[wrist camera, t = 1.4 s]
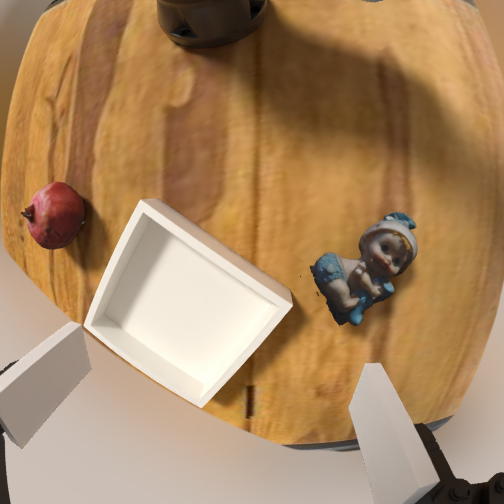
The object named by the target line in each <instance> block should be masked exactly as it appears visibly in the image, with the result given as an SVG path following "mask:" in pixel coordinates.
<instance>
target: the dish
mask: <svg viewBox="0 0 504 504" xmlns="http://www.w3.org/2000/svg"><path fill="white" fill-rule="evenodd" d="M292 306H293V303H292V298H291V293H290V289H288V288H287V287H285V286H284V285H282V284H281V283H279V282H278V281H276V280H275V279H273V278H272V277H271V276H269V275H268V274H266V273H265V272H263V271H262V270H260V269H259V268H257V267H256V266H255V265H253V264H252V263H250V262H249V261H247V260H246V259H244V258H243V257H242V256H240V255H239V254H237V253H236V252H234V251H233V250H231V249H230V248H229V247H227V246H226V245H224V244H223V243H221V242H220V241H218V240H217V239H216V238H214V237H213V236H211V235H210V234H208V233H207V232H206V231H204V230H203V229H201V228H200V227H198V226H197V225H196V224H194V223H193V222H191V221H190V220H188V219H187V218H186V217H184V216H183V215H181V214H180V213H178V212H177V211H176V210H174V209H173V208H171V207H170V206H168V205H167V204H166V203H164V202H163V201H161V200H160V199H159V198H155V199H141V200H140V202H139V203H138V205H137V207H136V209H135V211H134V213H133V215H132V216H131V218H130V220H129V222H128V224H127V226H126V228H125V230H124V232H123V234H122V236H121V238H120V240H119V242H118V244H117V246H116V248H115V250H114V253H113V255H112V257H111V259H110V261H109V263H108V266H107V268H106V270H105V273H104V275H103V277H102V279H101V282H100V284H99V287H98V289H97V292H96V294H95V297H94V299H93V302H92V304H91V307H90V309H89V312H88V315H87V318H86V320H85V323H84V327H85V328H87V329H88V330H89V331H90V332H91V333H92V334H94V335H95V336H96V337H97V338H98V339H100V340H101V341H102V342H103V343H105V344H106V345H107V346H108V347H110V348H111V349H112V350H113V351H115V352H116V353H117V354H119V355H120V356H121V357H123V358H124V359H125V360H127V361H128V362H129V363H131V364H132V365H134V366H135V367H136V368H138V369H139V370H141V371H142V372H144V373H145V374H146V375H148V376H149V377H151V378H152V379H154V380H155V381H157V382H158V383H160V384H162V385H163V386H165V387H166V388H168V389H170V390H171V391H173V392H174V393H176V394H178V395H179V396H181V397H183V398H184V399H186V400H188V401H190V402H191V403H193V404H195V405H197V406H198V407H200V408H202V407H203V406H204V405H205V404H206V403H207V402H208V401H209V400H210V399H211V398H212V397H213V396H214V395H215V394H216V393H217V392H218V391H219V389H220V388H221V387H222V386H223V385H224V384H225V383H226V382H227V381H228V380H229V379H230V378H231V377H232V376H233V374H234V373H235V372H236V371H237V370H238V369H239V368H240V367H241V366H242V365H243V363H244V362H245V361H246V360H247V359H248V358H249V357H250V356H251V355H252V353H253V352H254V351H255V350H256V349H257V348H258V347H259V345H260V344H261V343H262V342H263V341H264V340H265V338H266V337H267V336H268V335H269V334H270V333H271V331H272V330H273V329H274V328H275V327H276V326H277V324H278V323H279V322H280V321H281V320H282V318H283V317H284V316H285V315H286V314H287V312H288V311H289V310H290V309H291V307H292Z"/></svg>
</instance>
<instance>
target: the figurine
mask: <svg viewBox="0 0 504 504" xmlns="http://www.w3.org/2000/svg"><path fill="white" fill-rule="evenodd" d="M414 228H416V224H415V223H414V221H413V219H412V218H410V217H408V216H407V214H405V213H400V212H394V213H391V214H388V215H385V216H384V220H382V221H380V222H378V223H376V224H374V225H373V226H371V227H370V228H369V229H368V230H366V232H365V233H364V234H363V235H362V237H361V238H360V242H359V249H360V251H361V258H360V259H357V260H354V259H345V258H342V257H340V256H338V255H337V254H336V253H326V254H324V255H323V256H322V257H320V258H319V259H318V260H317V261H316V263H315V265H314V266H310V269H311V273H313V277H315V278H314V281H315V283H316V285H317V286H318V288H319V290H320V292H321V293H322V294H323V295H324V296H325V297H326V298H327V303H326V304H327V305H328V307H329V309H330V310H329V311H330V312H331V313H332V315H333V317H334V319H335V321H336V322H337V323H338V324H339V326H340V325H343V324H344V323H346V322H349V323H351V324H352V325H354V326H357V325H359V324H360V323H361V322H362V321H363V314H364V311H365V310H366V309H368V308H369V307H371V306H372V305H373V304H374V303H377V302H379V301H383V300H385V299H387V298H388V297H390V296H391V295H392V294H393V292H394V287H393V286H392V284H391V282H390V278H391V277H392V276H397V275H399V274H402V273H403V272H404V271H405V270H406V269H407V267H408V266H409V265H410V264H411V263H412V261H413V260H414V259H415V257H416V255H417V250H418V249H417V242H416V240H415V236H414V234H413V233H412V232H411V231H410V230H411V229H414ZM300 277H301V276H300ZM316 293H317V294H318V292H316ZM318 296H319V295H318Z"/></svg>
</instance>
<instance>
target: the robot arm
mask: <svg viewBox="0 0 504 504" xmlns="http://www.w3.org/2000/svg"><path fill="white" fill-rule="evenodd" d="M363 1H366V2H379V1H382V0H363ZM157 12H158V21H159V24H160V26H161V28H162V29H163V31H164V32H165V34H166V35H167V36H168V37H169V38H170V39H171V40H172V41H174V42H176V43H178V44H180V45H183V46H187V47H193V48H210V47H217V46H222V45H225V44H229V43H232V42H234V41H237V40H239V39H241V38H243V37H245V36H247V35H248V34H250V33H251V32H253V31H254V30H255V29H256V28H257V27H258V26H259V25H260V24H261V23H262V21H263V20H264V18H265V16H266V13H267V0H157ZM91 369H92V368H91V365H90V361H89V357H88V352H87V348H86V344H85V339H84V334H83V329H82V324H78V323H75V322H72V321H70V322H69V323H67V324H66V325H64V326H63V327H62V328H60V329H59V330H58V331H57V332H55V333H54V334H52V335H51V336H50V337H48V338H47V339H46V340H45V341H43V342H42V343H41V344H39V345H38V346H37V347H35V348H34V349H33V350H32V351H30V352H29V353H28V354H26V355H25V356H24V357H23V358H21V359H20V360H17V361H15V362H13V363H10V364H9V365H8V366H7V367H5V368H4V370H2V371H0V504H11V503H10V498H9V491H8V484H7V476H6V462H5V440H4V436H3V435H2V434H3V433H4V432H6V434H7V435H8V437H9V438H10V440H11V441H12V442H14V443H15V444H16V445H17V446H19V447H20V448H21V449H23V448H24V446H25V445H26V444H27V443H28V441H29V440H30V439H31V438H32V437H33V435H34V434H35V433H36V432H37V431H38V429H39V428H40V427H41V426H42V425H43V423H44V422H45V421H46V420H47V419H48V418H49V416H50V415H51V414H52V413H53V412H54V411H55V410H56V408H57V407H58V406H59V405H60V404H61V403H62V401H63V400H64V399H65V398H66V397H67V396H68V395H69V394H70V392H71V391H72V390H73V389H74V388H75V387H76V386H77V385H78V384H79V383H80V381H81V380H82V379H83V378H84V377H85V376H86V375H87V374H88V372H90V370H91ZM348 408H349V412H350V415H351V418H352V422H353V425H354V428H355V432H356V435H357V439H358V442H359V446H360V449H361V453H362V456H363V460H364V464H365V468H366V471H367V475H368V479H369V483H370V486H371V491H372V495H373V499H374V503H375V504H504V473H503V472H500V473H497V474H495V475H494V476H493V477H492V478H491V479H490V480H489V481H488V482H484V483H477V484H470V483H468V481H466V480H464V479H457V478H455V476H454V475H453V473H452V471H451V469H450V466H449V464H448V462H447V460H446V458H445V457H444V454H443V453H442V451H441V450H440V447H439V445H438V443H437V442H436V439H435V437H434V435H433V434H432V432H431V430H430V429H429V428H427V427H426V426H425V425H424V424H423V423H419V424H414V425H413V423H412V421H411V419H410V417H409V415H408V413H407V411H406V409H405V407H404V405H403V403H402V402H401V400H400V398H399V396H398V394H397V392H396V390H395V389H394V387H393V385H392V383H391V381H390V379H389V378H388V376H387V374H386V372H385V370H384V369H383V367H382V365H381V363H365V365H364V368H363V371H362V374H361V376H360V379H359V382H358V385H357V387H356V390H355V392H354V395H353V397H352V400H351V402H350V405H349V407H348Z"/></svg>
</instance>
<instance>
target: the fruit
mask: <svg viewBox="0 0 504 504" xmlns="http://www.w3.org/2000/svg"><path fill="white" fill-rule="evenodd" d="M21 214H23V216H24V217H26V218H27V224H28V228H29V231H30V234H31V235H32V237H33V238H34V239H35V241H36V242H37V243H38V244H39V245H40V246H41V247H43V248H46V249H59V248H63V247H65V246H67V245H68V244H70V243H71V242H72V240H73V239H74V238H75V236H76V235H77V233H78V231H79V229H80V227H81V225H82V224H83V223H85V222H86V221H85V220H84V215H85V206H84V203H83V201H82V199H81V197H80V196H79V194H78V193H77V192H76V191H75V190H74V189H73V188H71V187H70V186H69V185H67V184H65V183H63V182H53V183H49V184H47V185H46V186H44V187H43V188H41V189H40V190H39V191H37V193H36V194H35V195H34V196H33V198H32V200H31V202H30V206H29V207H28V208H25V212H21Z"/></svg>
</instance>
